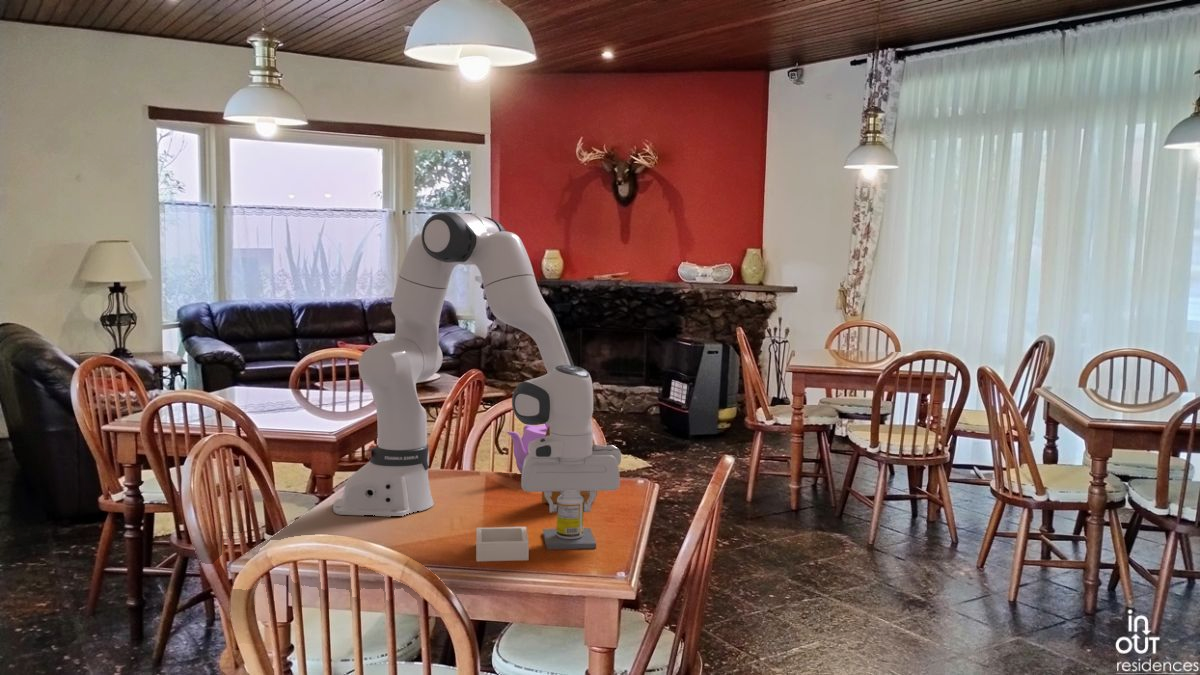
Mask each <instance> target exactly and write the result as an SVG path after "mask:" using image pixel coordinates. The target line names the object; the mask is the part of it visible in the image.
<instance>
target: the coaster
mask: <svg viewBox="0 0 1200 675" xmlns="http://www.w3.org/2000/svg"><path fill="white" fill-rule="evenodd" d="M542 535H543V538H544V543H545V547H546V550H571V549H572V550H574V549H575V550H576V549H577V550H578V549H579V550H581V549H597V541H596V539H595V536H594V534H593V532H592V529H591V528H590V527H583V535H582V537H580V538H578V539H562V538H560V537H558V536H557V528H544V529H542Z"/></svg>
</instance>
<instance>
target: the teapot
mask: <svg viewBox="0 0 1200 675" xmlns="http://www.w3.org/2000/svg"><path fill="white" fill-rule="evenodd" d="M548 428H549V425H548V424H541V425H527V424H525V425H524V427H523V434H522V437H521V435H520V434H519V433H518V432H517V431H511V430H508V431H505V433H507V434H508V435H509V436H510V437H511V438H512V442H513V445H512V446H513V455H514V458H515V465H516V467H517V470H518V472H519V473H520V474H521V475H522V468H523V463H524V459H525V457H526V456H527V455H528V454H529V453H528V444H529V442H531V441H533V440H536V439H539V438H543V437H545V435H546V432H547V429H548Z"/></svg>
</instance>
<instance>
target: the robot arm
mask: <svg viewBox="0 0 1200 675" xmlns="http://www.w3.org/2000/svg"><path fill="white" fill-rule="evenodd" d="M458 265H464V266H465V265H475V266H476V268H478V270H479V273H480V276H481V279H482V284H483V289H484V294H485V298H486V301H487V305H488V307H489V309H490V311H491V313H492V314H493V316H494V317H495V318H497V319H498V320H499V321H501V322H502V323H504V324H506V325H508V326H510V327H513V328H516V329H518V330H520V331H522V332H524V333H525V334H527V335H528V336H530V337H531V339H533V341H534V342H535V344H536V346H537V348H538V351H539V354H540V356H541V359H542V361H543V364H544V367H545V370H546V372H547V373H546V374H544V375H541V376H539V377H535V378H532V379H528V380H524V381H521V382H520V383H519V384H517V385H516V387H515V389H514V390H513V393H512V396H511V407H512V410H513V413H514V415H515V417H516V418H517V419H518V420H519V421H520V422H521V423H522V424H524V425H532V426H541V425H545V424H548V425H549V426H550V435H549V436H546V437H543V438H539V439H536V440H533V441H531V442H529V444H528V453H529V454H528V455H527V456H526V457H525V459H524V463H523V468H522V474H521V478H520V486H521V488H522V490H523V491H524V492H525V493H536V492H537V493H542V492H544V495H545V498H546V499H547V501H548V503H549V504H548V503H547V504H548V505H549V506H548V508H549V513H551V514H552V513H557V502H552V500H551V498H550V497H551V496H552V492H555V491H566V490H576V491H589V494H590V497H589V499H588V500H587V502H584V513H591V512H592V504H593V502H594V501H595V500H596V498H597V496H598V491H600V492H601V491H603V492H604V491H606V492H607V491H617V490H618V489H619V488H620V485H621V480H620V478H621V477H620V469H619V468H620V467H619V465H620V464H621V461H622V452H621V450H620V449H619V448H618V447H616V446H615V445H613V444H608V445H605V444H603V445H601V444H594V445H593V442H594V439H593V438H594V437H593V436H594V435H593V434H594V430H593V425H592V417H593V413H594V387H593V381H592V377H591V375H590V372H589V371H587V369H584V368H582V367H581V366H577V365H575V364H574V362H573V359H572V356H571V353H570V351H569V348H568V345H567V343H566V340H565V337H564V334H563V332H562V329H561V327H560V325H559V322H558V319H557V317H556V315H555V313H554V312H553V310H552V308H551V307H550V306H549V305H548V304H547V303H546V301H545V299H544V298H543V295H542V293H541V291H540V289H539V286H538V283H537V280H536V276H535V273H534V268H533V266H532V263H531V260H530V257H529V254H528V252H527V249H526V247H525V245H524V243H523V241H522V239H521V238H520V237H519V235H517V234H516V233H515V232H510V231H506V229H505V227H504V226H503V225H502V224H500V222H499V221H496V220H495V219H493V218H492V217H491V218H490V217H488V216H482V215H478V214H476V213H475V214H473V213H468V212H465V213H462V212H461V213H459V212H451V211H446V212H445V211H444V212H439V213H437V214H436V213H434V215H432V216H430V217H429V218H428V219H427V220H426V222H425V223H424V225H423V227H422V229H421V233H418V234H417V235H415V236H414V237H413V239H412V240H411V242H410V244H409V246H408V248H407V251H406V253H405V256H404V258H403V260H402V264H401V266H400V267H401V268H400V270H399V274H398V277H397V282H396V285H395V286H396V287H395V290H394V294H393V298H392V302H391V305H390V306H391V312H392V314H393V316H394V317H395V334H394V336H393V338H392V339H387V340H382V341H379V342H377V343H375V344H373V345H371V346H370V347H368V348H367V349H365V350H364V351H363V352H362V353H361V355H360V356H359V357H360V358H359V360H358V373H359V376H360V378H361V381H363V382H364V383H365V385H366V386H368V388H369V389H370V392H371V395H372V398H373V402H374V405H375V410H376V417H377V418H376V420H377V423H376V424H377V444H376V443H371V444H370V445H369V446H368V449H367V450H368V461H369V462H367V463H365V465H363V466H362V467H360V468H359V469H358V470H357V471H355V472H354V473H353V474H352V475H351V476H349V478H348V479H347V480H346V482H345V483H344V484H345V485H344V488H343V495H342V496H339V497H338V498H336V499H335V500H334V502H333V504H332V505H333V506H332V511H333V513H335V514H336V515H343V516H344V515H345V516H364V515H373V517H391V516H402V517H404V515H405V516H407V515H406V514H408V515H410V514H414V513H418V512H417V511H419V512H423V511H425V510H426V511H427V510H428V509H430V508H432V507H433V506H434V503H435V502H434V500H433V497H432V492H431V486H430V481H429V473H428V471H429V470H428V469H429V466H430V449H429V444H428V443H427V442H428V440H427V434H428V433H427V430H428V428H427V426H428V425H427V424H428V422H427V421H428V419H427V418H428V417H427V416H428V414H427V410H426V409H425V407H424V406H422V404H421V402H420V399H419V395H418V391H417V383H421V382H425V381H427V380H428V379H429V378H430V379H431V377H433V375H435V374H436V373H437V372H438V371H439V370H440V368H441V367H442V364H443V358H444V357H443V351H442V349H441V346H440V345H439V331H440V330H439V327H440V319H441V314H442V310H443V306H444V302H445V298H446V296H447V291H448V287H449V282H450V279H451V275H452V273H453V270H454V269H455V268H456V266H458ZM592 450H593V452H592ZM594 499H595V500H594ZM413 512H414V513H413ZM409 513H410V514H409ZM374 515H375V516H374Z"/></svg>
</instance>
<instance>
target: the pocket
mask: <svg viewBox="0 0 1200 675" xmlns="http://www.w3.org/2000/svg"><path fill="white" fill-rule="evenodd" d="M475 531H476V533H475V534H476V535H475V536H476V538H475V542H476V544H475V545H476V547H475V548H476V550H475V551H476V552H475V553H476V554H475V555H476V557H475V558H476V560H475V562H507V561H508V562H509V561H510V562H511V561H512V562H515V561H529V556H530V555H529V553H530V552H529V548H530V542H529V537H528V531H527V526H500V527H499V526H498V527H497V526H496V527H493V526H492V527H476V530H475Z"/></svg>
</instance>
